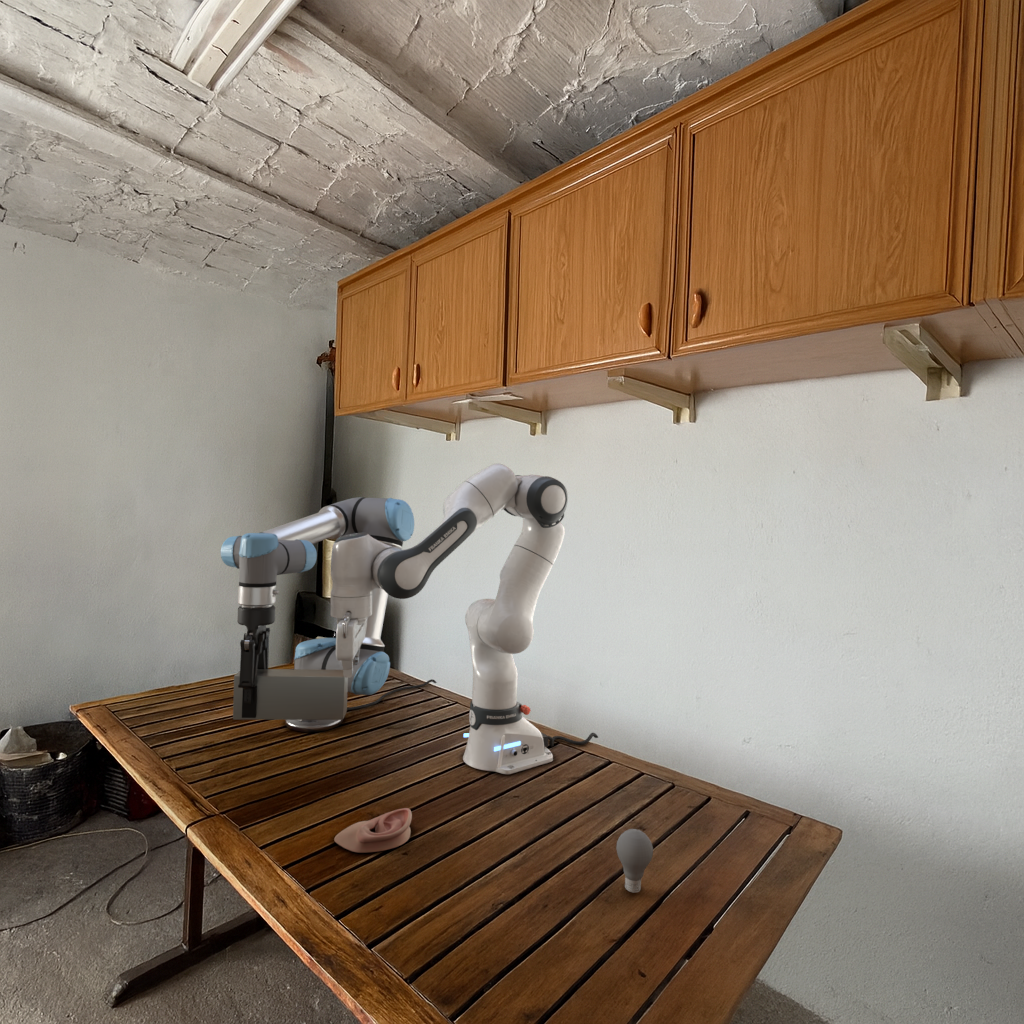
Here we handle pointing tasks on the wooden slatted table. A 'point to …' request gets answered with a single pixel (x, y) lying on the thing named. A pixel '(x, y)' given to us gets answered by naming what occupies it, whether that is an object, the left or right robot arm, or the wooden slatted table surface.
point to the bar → (296, 695)
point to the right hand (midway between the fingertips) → (351, 670)
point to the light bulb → (634, 857)
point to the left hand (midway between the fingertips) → (253, 712)
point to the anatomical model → (377, 832)
